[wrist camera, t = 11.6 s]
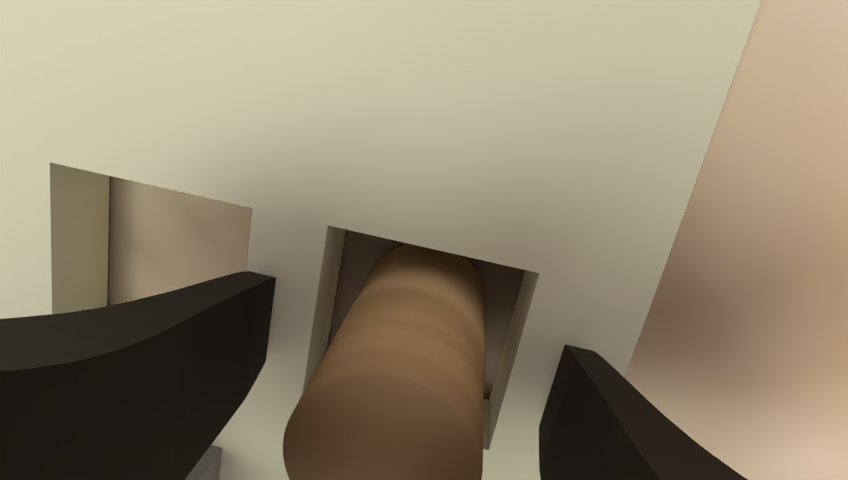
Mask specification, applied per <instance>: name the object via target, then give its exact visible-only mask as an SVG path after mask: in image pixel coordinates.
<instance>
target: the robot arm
mask: <svg viewBox="0 0 848 480" xmlns="http://www.w3.org/2000/svg"><path fill="white" fill-rule="evenodd" d="M275 283H276V277H272V276H268V275H264V274H259V273H255V272H251V271H245V272H239V273H234V274H230V275H227V276H223V277H219V278H216V279H212V280H209V281H206V282H202V283H199V284H195V285H192V286H188V287H185V288H181V289H178V290H174V291H171V292H167V293H163V294H159V295H155V296H151V297H147V298H143V299H139V300H135V301H131V302H126V303H121V304H117V305H111V306H106V307H101V308H94V309H88V310H82V311H75V312H68V313H60V314H49V315H38V316H28V317H17V318H6V319H0V480H185V479H186V477H187V476H188V475H189V473H190V472H191V471H192V469H193V468H194V467H195V465H196V464H197V463H198V461H199V460H200V459H201V457H202V456H203V455H204V454H205V452H206V451H207V450H208V448H209V447H210V446H211V444H212V443H213V442H214V440H215V439H216V438H217V436H218V435H219V434H220V432H221V431H222V430H223V428H224V427H225V426H226V424H227V423H228V422H229V420H230V419H231V418H232V416H233V415H234V414H235V412H236V411H237V410H238V408H239V407H240V406H241V404H242V403H243V401H244V400H245V399H246V397H247V395H248V393H249V392H250V390H251V388H252V386H253V385H254V383H255V381H256V379H257V377H258V375H259V373H260V372H261V370H262V368H263V366H264V364H265V362H266V356H267V348H268V340H269V332H270V324H271V316H272V307H273V299H274V291H275ZM539 471H540V478H541V480H747V479H746V478H744V477H743V476H741V475H740V474H738V473H737V472H735V471H734V470H733V469H731V468H730V467H729V466H727V465H726V464H724V463H723V462H722V461H720V460H719V459H718V458H716V457H715V456H713V455H712V454H711V453H709V452H708V451H707V450H705V449H704V448H703V447H701V446H700V445H699V444H698V443H696V442H695V441H694V440H693V439H691V438H690V437H689V436H688V435H687V434H685V433H684V432H683V431H682V430H681V429H679V428H678V427H677V426H676V425H675V424H674V423H672V422H671V421H670V420H669V419H668V418H667V417H665V416H664V415H663V414H662V413H661V412H660V411H659V410H658V409H657V408H655V407H654V406H653V405H652V404H651V403H650V402H649V401H648V400H647V399H646V398H645V397H644V396H643V395H642V394H640V393H639V392H638V391H637V390H636V389H635V388H634V387H633V386H632V385H631V384H630V383H629V382H628V381H627V380H626V379H625V378H624V377H623V376H622V375H621V374H620V373H619V372H618V371H617V370H616V369H615V368H614V367H612V366H611V365H610V364H609V363H608V362H607V361H606V360H605V359H604V358H603V357H601V356H600V355H599V354H598V353H596V352H595V351H592V350H588V349H583V348H579V347H575V346H570V345H566V344H565V345H564V348H563V352H562V355H561V358H560V361H559V364H558V367H557V371H556V374H555V377H554V380H553V383H552V386H551V390H550V393H549V396H548V399H547V402H546V405H545V409H544V412H543V415H542V418H541V421H540V424H539Z"/></svg>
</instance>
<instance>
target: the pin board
mask: <svg viewBox="0 0 848 480" xmlns="http://www.w3.org/2000/svg"><path fill="white" fill-rule="evenodd" d="M761 1H762V0H0V319H6V318H17V317H28V316H38V315H49V314H60V313H68V312H75V311H82V310H88V309H94V308H101V307H106V306H107V291H108V237H109V183H110V176H112V177H117V178H121V179H126V180H130V181H134V182H139V183H143V184H148V185H152V186H157V187H161V188H165V189H170V190H174V191H179V192H183V193H187V194H192V195H196V196H201V197H205V198H210V199H214V200H218V201H223V202H227V203H232V204H236V205H240V206H245V207H249V208H252V217H251V226H250V236H249V245H248V255H247V265H246V271H251V272H255V273H259V274H264V275H268V276H272V277H276V283H275V291H274V299H273V307H272V316H271V324H270V332H269V340H268V348H267V356H266V362H265V364H264V366H263V368H262V370H261V372H260V373H259V375H258V377H257V379H256V381H255V383H254V385H253V386H252V388H251V390H250V392H249V393H248V395H247V397H246V399H245V400H244V401H243V403H242V404H241V406H240V407H239V408H238V410H237V411H236V412H235V414H234V415H233V416H232V418H231V419H230V420H229V422H228V423H227V424H226V426H225V427H224V428H223V430H222V431H221V432H220V434H219V435H218V436H217V438H216V439H215V440H214V442H213V443H212V444H211V445H213V446H217V447H221V448H222V455H221V464H220V474H219V480H289V477H288V475H287V472H286V468H285V465H284V459H283V438H284V432H285V429H286V426H287V422H288V420H289V418H290V416H291V414H292V412H293V411H294V409H295V407H296V405H297V403H298V402H299V400H300V398H301V396H302V394H303V393H304V391H305V389H306V387H307V386H308V384H309V382H310V380H311V378H312V377H313V375H314V373H315V371H316V369H317V368H318V366H319V364H320V362H321V361H322V359H323V357H324V355H325V353H326V350H327V344H328V338H329V331H330V325H331V319H332V313H333V307H334V301H335V294H336V288H337V282H338V276H339V270H340V264H341V257H342V251H343V245H344V239H345V233H346V230H351V231H355V232H360V233H364V234H368V235H373V236H377V237H382V238H386V239H391V240H395V241H399V242H404V243H408V244H413V245H417V246H421V247H426V248H430V249H435V250H439V251H444V252H448V253H452V254H457V255H461V256H466V257H470V258H474V259H479V260H483V261H488V262H492V263H497V264H501V265H505V266H510V267H514V268H519V269H523V270H525V272H524V276H523V280H522V283H521V287H520V290H519V294H518V298H517V301H516V305H515V308H514V312H513V316H512V319H511V323H510V327H509V330H508V334H507V337H506V341H505V345H504V348H503V352H502V355H501V359H500V363H499V366H498V370H497V373H496V377H495V381H494V384H493V388H492V391H491V395H490V399H489V400H488V399H484V423H483V471H482V479H481V480H541V478H540V471H539V424H540V421H541V418H542V415H543V412H544V409H545V405H546V402H547V399H548V396H549V393H550V390H551V386H552V383H553V380H554V377H555V374H556V371H557V367H558V364H559V361H560V358H561V355H562V352H563V348H564V345H565V344H566V345H570V346H575V347H579V348H583V349H588V350H592V351H595V352H596V353H598V354H599V355H600V356H601V357H603V358H604V359H605V360H606V361H607V362H608V363H609V364H610V365H611V366H612V367H614V368H615V369H616V370H617V371H618V372H619V373H620V374H621V375H622V376H623V377H624V378H625V375H626V373H627V370H628V367H629V364H630V362H631V359H632V356H633V353H634V351H635V348H636V345H637V342H638V340H639V337H640V334H641V331H642V329H643V326H644V323H645V320H646V318H647V315H648V312H649V309H650V307H651V304H652V301H653V298H654V296H655V293H656V290H657V287H658V285H659V282H660V279H661V276H662V274H663V271H664V268H665V265H666V262H667V260H668V257H669V254H670V251H671V249H672V246H673V243H674V240H675V238H676V235H677V232H678V229H679V227H680V224H681V221H682V218H683V216H684V213H685V210H686V207H687V205H688V202H689V199H690V196H691V194H692V191H693V188H694V185H695V183H696V180H697V177H698V174H699V172H700V169H701V166H702V163H703V161H704V158H705V155H706V152H707V149H708V147H709V144H710V141H711V138H712V136H713V133H714V130H715V127H716V125H717V122H718V119H719V116H720V114H721V111H722V108H723V105H724V103H725V100H726V97H727V94H728V92H729V89H730V86H731V83H732V81H733V78H734V75H735V72H736V70H737V67H738V64H739V61H740V59H741V56H742V53H743V50H744V48H745V45H746V42H747V39H748V36H749V34H750V31H751V28H752V25H753V23H754V20H755V17H756V14H757V12H758V9H759V6H760V3H761Z"/></svg>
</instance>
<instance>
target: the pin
mask: <svg viewBox="0 0 848 480" xmlns="http://www.w3.org/2000/svg"><path fill="white" fill-rule="evenodd" d="M485 316H486V296H485V290H484V286H483V283H482V280H481V278H480V276H479V274H478V273H477V271H476V269H475V268H474V267H473V266H472V264H471V263H470V262H469V261H468V260H467V259H466V258H464V257H463V256H461V255H457V254H452V253H448V252H444V251H439V250H435V249H430V248H426V247H421V246H417V245H413V244H407V245H403V246H400V247H398V248H396V249H394V250H392V251H390V252H389V253H387V254H386V255H385V256H384V257H382V258H381V259H380V260H379V262H378V263H377V264H376V265H375V267H374V268H373V269H372V271H371V273H370V275H369V277H368V278H367V280H366V282H365V284H364V286H363V287H362V289H361V291H360V293H359V294H358V296H357V298H356V300H355V302H354V303H353V305H352V307H351V309H350V311H349V312H348V314H347V316H346V318H345V319H344V321H343V323H342V325H341V327H340V328H339V330H338V332H337V334H336V336H335V337H334V339H333V341H332V343H331V344H330V346H329V348H328V350H327V352H326V353H325V355H324V357H323V359H322V361H321V362H320V364H319V366H318V368H317V369H316V371H315V373H314V375H313V377H312V378H311V380H310V382H309V384H308V386H307V387H306V389H305V391H304V393H303V394H302V396H301V398H300V400H299V402H298V403H297V405H296V407H295V409H294V411H293V412H292V414H291V416H290V418H289V420H288V422H287V426H286V429H285V432H284V438H283V459H284V465H285V468H286V472H287V475H288V477H289V480H481V479H482V471H483V423H484V370H485Z"/></svg>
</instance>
